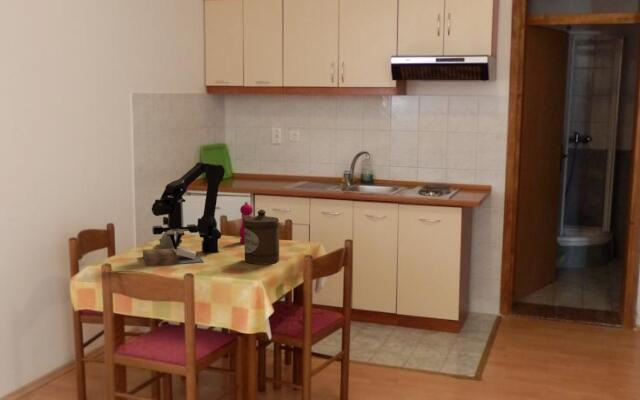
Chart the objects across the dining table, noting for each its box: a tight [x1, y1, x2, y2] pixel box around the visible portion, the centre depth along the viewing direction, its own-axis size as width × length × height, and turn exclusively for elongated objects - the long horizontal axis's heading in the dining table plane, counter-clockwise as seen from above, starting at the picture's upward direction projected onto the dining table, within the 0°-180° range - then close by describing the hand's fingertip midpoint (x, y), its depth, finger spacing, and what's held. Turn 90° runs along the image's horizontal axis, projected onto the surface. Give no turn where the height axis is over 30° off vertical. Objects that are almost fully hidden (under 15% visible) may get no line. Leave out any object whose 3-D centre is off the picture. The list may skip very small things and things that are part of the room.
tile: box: [174, 245, 197, 259], centre depth 316 cm, size 8×6×2 cm
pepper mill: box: [238, 201, 254, 245], centre depth 351 cm, size 7×7×20 cm
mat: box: [178, 253, 205, 265], centre depth 316 cm, size 10×16×1 cm, turn 18°
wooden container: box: [243, 209, 280, 265], centre depth 313 cm, size 15×15×22 cm
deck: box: [142, 248, 180, 267], centre depth 313 cm, size 13×18×3 cm
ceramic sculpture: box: [158, 231, 183, 249], centre depth 340 cm, size 11×9×15 cm
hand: (175, 249), depth 315 cm, fingers closed
